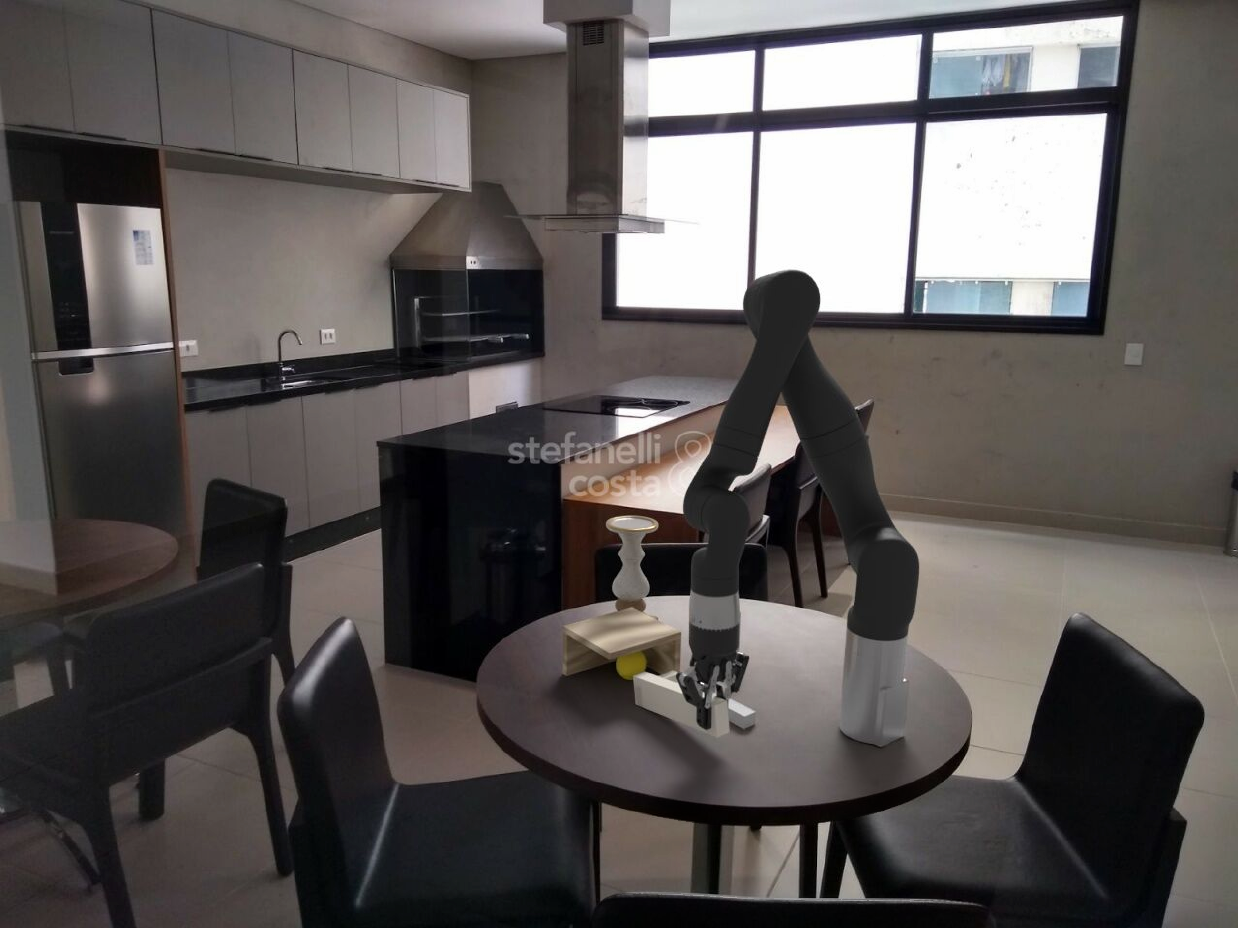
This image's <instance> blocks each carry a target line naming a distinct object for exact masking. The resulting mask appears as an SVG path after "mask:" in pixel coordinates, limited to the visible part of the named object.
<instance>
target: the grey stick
mask: <svg viewBox="0 0 1238 928" xmlns="http://www.w3.org/2000/svg"><path fill="white" fill-rule="evenodd" d="M712 695H713V696H717V695H716V694H715V693H713V694H712ZM728 717H729V723H732V724H734V725H736V726H738V727H740V728H741V729H743V730H744V729H747V728H750V727H751V726H754V725H756V711H755V710H753V709H751V708H750V707H748V706H746V705H743V704H742V703H740V702H737V701H736V700H734V699H732V698H730V699H729V703H728Z"/></svg>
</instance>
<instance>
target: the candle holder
mask: <svg viewBox="0 0 1238 928" xmlns="http://www.w3.org/2000/svg"><path fill="white" fill-rule="evenodd" d="M605 526H606V528H607V529H608V530H609V531H610V532H613V533H617V534H618V536H619V538H621V540H622V546H621V548H620V550H619V551H618V553H617V554H618V556H619V557H620V560H621V562H622V566H621V569H620V571H619V572H618V574H617V576H616V577H615V578H614V580H613V582H612V592H613V594H614V595H615V596H616V597H617V598H618V599H617V600H616V601H615V603H614V606H615V607H614V608H615V610H616V611H620V610H624V609H628V608H631V607H632V608H634V609H636V610H638V611H640V612H642V613H644V614H646V615H648V616H650V617H652V618H654V619H656V620H658V621H659V617H658V616H657V615H652V614H647V613H646V612H644V611H645V610H646V608H647V603H646V601H645V600H644V599H645V597H647V595H648V594H649V592H650V584H649V580H648V578H647V577H646V576H645V574H644V573H643V570H642V568H641V562H642V560H643V558H644V557H645V555H646V553H645V552H644V550H643V548H642V546H641V544H642V540H643V538H644V537H645V536H646V534H650V533H653V532H655V531H657V530H658V528H659V522H658V521H657V520H656V519H654V518H651V517H648V516H641V515H620V516H615V517H611V518H609V519H608V520H607V521H606V522H605ZM616 611H614V612H616Z"/></svg>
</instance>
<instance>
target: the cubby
mask: <svg viewBox="0 0 1238 928" xmlns="http://www.w3.org/2000/svg"><path fill="white" fill-rule="evenodd" d="M644 613H645V612H644ZM644 613H642V612H640V611H638V610H636V609H634V608H632V607H631V608H628V609H624V610H620V611H617V610H616V612H615V611H613V612H609V613H605V614H602V615H598V616H595V617H590V618H587V619H583V620H580V621H576V622H573V623H569V624H565V625H562V674H563V675H564V676H566V677H568V676H571V675H574V674H577V673H580V672H584V671H587V670H590V669H593V668H597V667H600V666H603V665H606V664H610V663H613V662H617V659H618V657H622V656H625V655H628V654H631V653H635V652H638V651H642V652H643V654H644V655H645V658H646V661H647V664H646V667H647V668H650V669H652V670H653V671H655V672H657V673H658V674H659V675H662V674H664V673H667V672H670V671H676V672H681V651H682V650H681V647H682V631H680V630H678V629H676V628H674V627H672V626H670V625H668V624H666V623H664V622H662V621H660V620H659V619H658V620H656V619H654V618H652V617H650V616H648V615H649V614H647V613H646V614H647V615H646V614H644Z"/></svg>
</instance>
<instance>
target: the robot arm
mask: <svg viewBox="0 0 1238 928" xmlns="http://www.w3.org/2000/svg"><path fill="white" fill-rule="evenodd" d="M743 295H744V296H743V299H742V309H743V315H744V319H745V321H746V324H747V326H748V327H749V329H750V332H751V333H752V335H753V337H754V339H755V344H754V347H753V350H752V353H751V356H750V358H749V359H748V362H747V365H746V367H745V369H744V371H743V373H742V375H741V377H740V378H739V379H738V382H737V384H736V385H735V387H734V389H733V391H732V392H731V394H730V395H729V397H728V400H727V402H726V403H725V405H724V407H723V409H722V413H721V414H720V417H719V418H720V419H719V421H718V424H717V426H716V429H715V433H714V436H713V439H712V443H711V445H710V449H709V451H708V454H707V455H706V457H705V458H704V460H703V461H702V463H701V464H700V466H699V468H698V470H697V471H696V473H695V474H694V476H693V478H692V479H691V482H690V483H689V485H688V487H687V489H686V491H685V492H684V498H683V501H682V513H683V518H684V520H685V522H686V523H687V524H688V525H689V526H690V527H691V528H693V529H694V530H697V531H700V532H702V533H704V534H707V535H708V541H707V545H706V547H702V548H699V549H697V550H696V551H695V552H694V553H693V555H692V557H691V563H690V564H691V566H690V595H689V599H688V600H689V602H688V646H689V648H690V650H691V658H690V661H689V667H688V668H687V669H686V670H685V671H684V672H682V671H680V672H678V673H677V674H676V679H677V682H678V684H679V686H680V688H681V691H682V693H683V695H684V698H685V700H686V702H688V703H690V704H691V705H693V706H695V707H697V711H696V715H697V716H696V717H697V718H696V722H697V724H698V725H699V726H700V727H702V728H703V729H705V730H708V729H710V728H711V707H710V706H711V701H712V694H713V693H715V694H716V695H717V696H716V697H719V698H721V699H724V700H727V704H728V703H729V699H732V694H734V693H735V694H737V693H738V692H739V691H740V688H741V686H742V683H743V679H744V676H745V673H746V672H747V671H746V670H747V667H748V665H749V661H750V656H749V655H747V654H745V653H743V652H742V651H741V652H740V651H739V652H738V651H736V650H737V649H738V647H739V622H740V621H739V620H740V612H741V610H740V609H741V606H740V605H741V601H740V594H739V593H740V592H739V585H740V584H739V583H740V582H739V581H740V579H739V578H740V570H739V569H740V567H739V566H740V565H739V564H740V562H741V559H742V555H743V553H744V549H745V545H746V542H747V538H748V535H749V532H750V526H751V512H750V507H749V504H748V502H747V501H746V499H745V497H744V496H743V495H742V494H740V493H738V492H735V491H733V490H730V488H731V486H732V484H733V482H735V480H736V478H738V477H745V476H749V475H751V474H752V473H753V472H754V471H755V468H756V466H757V463H758V460H759V457H760V455H761V454H760V453H761V451H762V449H763V448H762V447H763V444H764V442H765V439H766V435H767V433H768V429H769V426H770V423H771V420H772V417H773V414H774V412H775V408H776V405H777V404H778V402H779V401H778V400H779V398H780V395H781V396H782V398H783V400H784V404H785V406H786V408H787V411H788V413H789V416H790V418H791V420H792V423H793V426H794V429H795V431H796V432H795V433H796V434H797V437H798V438H799V441H800V444H801V446H802V449H803V451H804V453H805V456H806V458H807V460H808V463H809V464H810V467H811V468H812V471H813V473H814V475H815V478H816V480H817V481H818V483H819V485H820V487H821V488H822V490H823V492H824V494H825V496H826V497H827V499H828V500H829V503H830V504H831V507H832V509H833V512H834V515H835V518H836V520H837V524H838V527H839V531H840V533H841V536H842V537H841V538H842V541H843V545H844V548H845V552H846V554H847V556H846V557H847V559H848V562H849V565H850V566H851V567H850V568H851V569H852V570H853V572H854V573H855V574H856V577H855V578H856V579H855V580H856V581H855V589H854V590H855V591H854V600H853V604H852V606H851V607H850V608H849V609H848V611H847V615H846V617H847V618H846V629H845V630H846V632H845V633H846V634H845V645H844V646H845V647H844V659H843V669H842V670H843V672H842V684H841V697H840V711H839V713H840V714H839V729H840V731H841V732H842V733H843V734H844V735H845V736H847V737H848V738H851V739H853V740H855V741H856V742H857V741H858V742H862V743H866V744H871V745H875V746H877V747H880V748H882V747H884V746H887V745H889V744H891V743H893V742H894V741H897V740H899V739H901V738H903V737H904V736H905V733H906V723H907V711H908V701H909V700H908V699H909V688H910V681H909V679H907V678H905V671H906V670H905V668H906V659H907V649H908V648H907V647H908V636H909V635H908V634H909V627H910V623H911V622H912V620H913V618H914V615H915V609H916V602H917V595H918V587H919V580H920V579H919V577H920V561H919V556H918V553H917V551H916V549H915V548H914V546H913V545H912V544H911V543H910V542H909V541H908V540H907V539H906V538H905V537H904V536H903V535H902V534H901V533H900V532H899V530H898V529H897V527H896V525H895V524H894V522H893V521H892V518H891V517H890V515H889V513H888V511H887V509H886V507H885V504H884V503H883V501H882V499H881V496H880V494H879V492H878V491H879V490H878V489H877V485H876V484H877V483H876V479H875V473H874V464H873V459H872V453H871V450H870V449H871V448H870V444H869V442H868V438H867V436H866V433H865V431H864V427H863V425H862V422H861V419H860V418H859V415H858V412H857V410H856V408H855V406H854V404H853V402H852V400H851V399H850V397H849V396H848V394H847V393H846V392H845V390H844V389H843V387H842V386H841V385H840V383H838V382H837V380H836V379H835V377H834V376H833V375H832V373H830V371H829V370H828V369H827V368H826V367H825V365H824V363H822V361H821V360H820V357H819V356H818V354H817V352H816V351H815V349H814V346H813V344H812V341H811V338H810V335H809V334H810V331H811V329H812V327H813V326H814V323H815V321H816V319H817V317H818V314H819V311H820V307H821V293H820V288H819V286H818V284H817V282H816V281H815V280H814V279H813V277H812V276H811V275H809V274H808V273H807V272H805V271H803V270H800V269H792V268H790V269H783V270H779V271H776V272H772V273H768V274H765V275H763V276H759V277H758V278H756V279H754V280H753V281H752V282H750V284H749V285H748V286H747V288H746V289H745V292H744V294H743ZM734 676H735V678H734ZM733 678H734V680H733ZM704 683H705V684H704ZM706 684H707V685H706ZM703 692H704V694H705V695H704V698H703V697H702V696H703Z"/></svg>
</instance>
